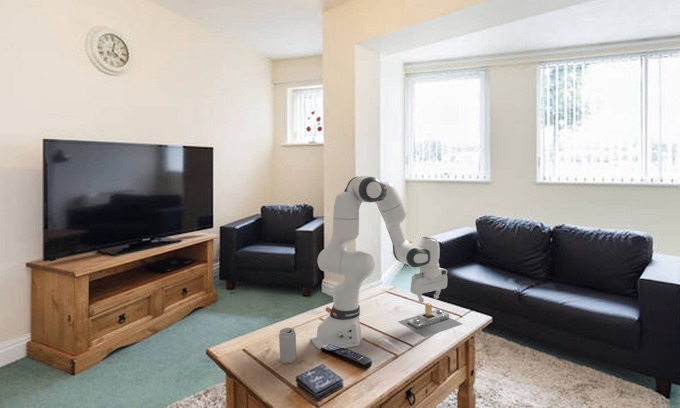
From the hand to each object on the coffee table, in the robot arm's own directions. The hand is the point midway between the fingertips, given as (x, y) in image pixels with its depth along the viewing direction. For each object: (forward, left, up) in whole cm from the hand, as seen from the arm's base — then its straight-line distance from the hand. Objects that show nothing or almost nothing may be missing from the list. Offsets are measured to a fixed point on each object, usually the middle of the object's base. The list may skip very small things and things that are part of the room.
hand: (428, 300), depth 170 cm
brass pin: (+1, +1, -11) cm, 11 cm away
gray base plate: (0, -1, -11) cm, 11 cm away
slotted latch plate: (+1, +1, -11) cm, 11 cm away
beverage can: (-69, +5, -11) cm, 71 cm away
